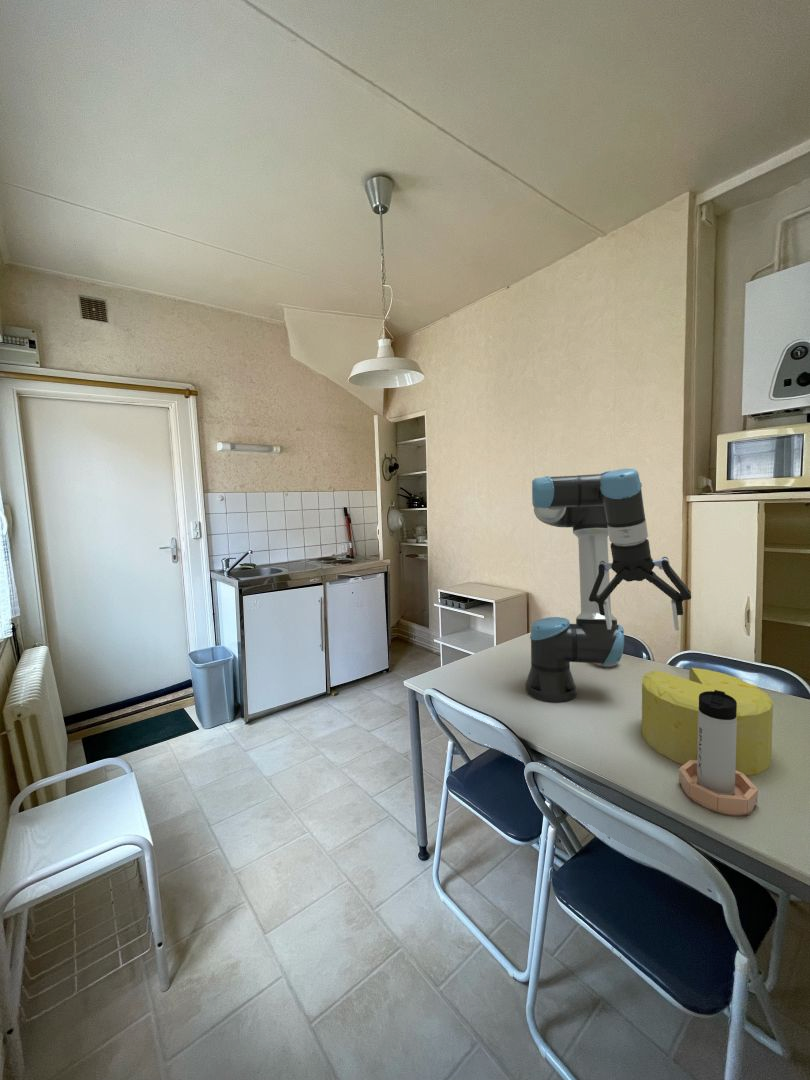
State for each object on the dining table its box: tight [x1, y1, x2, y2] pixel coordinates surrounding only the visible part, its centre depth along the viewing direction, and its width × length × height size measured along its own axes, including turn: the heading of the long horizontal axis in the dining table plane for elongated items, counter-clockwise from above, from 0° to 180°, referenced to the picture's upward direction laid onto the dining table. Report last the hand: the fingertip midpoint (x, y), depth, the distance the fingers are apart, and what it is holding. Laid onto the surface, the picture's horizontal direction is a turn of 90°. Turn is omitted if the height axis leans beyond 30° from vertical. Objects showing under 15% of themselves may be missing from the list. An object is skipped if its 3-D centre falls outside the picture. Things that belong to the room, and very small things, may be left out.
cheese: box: [641, 667, 774, 777], centre depth 105 cm, size 26×26×15 cm
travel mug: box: [697, 690, 737, 796], centre depth 87 cm, size 6×7×20 cm
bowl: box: [678, 760, 759, 817], centre depth 87 cm, size 12×12×3 cm
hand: (642, 627), depth 98 cm, fingers open, 13 cm apart
